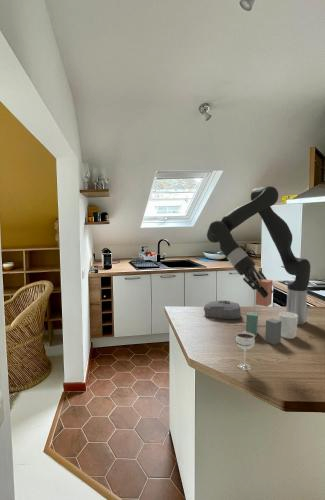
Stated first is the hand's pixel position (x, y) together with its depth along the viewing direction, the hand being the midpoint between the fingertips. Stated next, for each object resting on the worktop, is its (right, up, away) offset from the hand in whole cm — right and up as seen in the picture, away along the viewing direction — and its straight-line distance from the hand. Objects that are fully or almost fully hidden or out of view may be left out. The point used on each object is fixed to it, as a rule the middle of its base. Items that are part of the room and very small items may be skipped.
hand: (268, 294), depth 117 cm
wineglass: (-12, -25, -8) cm, 29 cm away
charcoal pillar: (+7, -23, +14) cm, 28 cm away
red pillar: (-1, -4, +2) cm, 5 cm away
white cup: (+16, -22, +21) cm, 34 cm away
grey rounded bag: (-9, -19, +49) cm, 54 cm away
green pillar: (0, -22, +23) cm, 32 cm away
